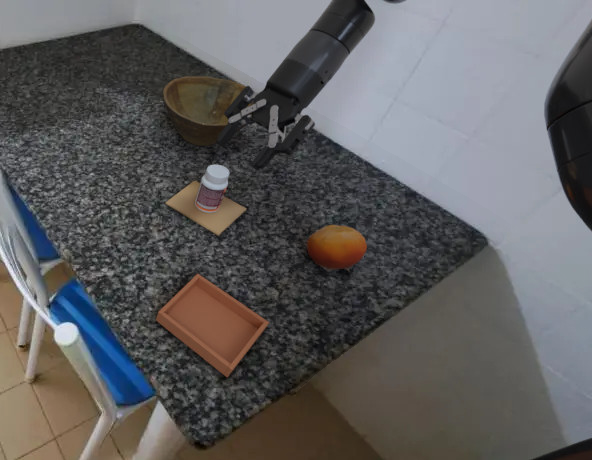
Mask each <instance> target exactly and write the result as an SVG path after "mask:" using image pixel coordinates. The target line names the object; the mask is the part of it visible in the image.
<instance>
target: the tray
mask: <svg viewBox="0 0 592 460" xmlns="http://www.w3.org/2000/svg"><path fill="white" fill-rule="evenodd" d="M155 321H156V323H158V324H159V325H161V326H162V327H163V328H164V329H165V330H167V331H168V332H170V333H171V334H172V335H173V336H175V337H176V338H177V339H178V340H179V341H181V343H183V344H184V345H186V346H187V347H188V348H189V349H191V350H192V351H193V352H194V353H196V354H197V355H198V356H200V357H201V358H202V359H203V360H205V361H206V362H207V363H208V364H209V365H211V366H212V367H213V368H214V369H216V371H218V372H220V373H221V374H222V375H223V376H224V377H226V378H229V376H230V375H231V374H232V372H233V371H234V370H235V368H236V367H237V366H238V364H239V363H240V362H241V361H242V360H243V358H244V357H245V356H246V354H247V353H248V352H249V350H250V349H251V348H252V346H253V345H254V344H255V343H256V342H257V340H258V339H259V337H260V336H261V335H262V334H263V333H264V331H265V330H266V328H267V327H268V325H269V324H270V322H269V321H268V320H267V319H265V318H263V317H262V316H261V315H259V314H258V313H256V312H255V311H254V310H252V309H250V308H249V307H247V306H246V305H245V304H243V303H241V302H240V301H239V300H237V299H236V298H234V297H233V296H231V295H230V294H229V293H227V292H226V291H225V290H223V289H221V288H220V287H219V286H217V285H216V284H214V283H213V282H211V281H209V280H208V279H206V277H203V275H201V274H199V273H196V275H194V277H193V278H191V279H190V280H189V281H188V282H187V283H186V284H185V285H184V286H183V287H182V288H181V289H180V290H179V291H178V292H177V293H176V294H175V295H174V296H173V297H172V298H171V299H170V300H168V302H167V303H166V304H165V305H164V306H162V307H161V308H160V310H158V312H157V316H156V318H155Z"/></svg>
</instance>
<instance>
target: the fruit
mask: <svg viewBox="0 0 592 460" xmlns="http://www.w3.org/2000/svg"><path fill="white" fill-rule="evenodd" d="M306 247H307V253H308V255H309V258H311V260H313V263H315V265H317V266H319V267H321V268H323V270H325V271H326V272H327V274H328V273H329V272H332V271H336V270H343V269H344V270H347V272H348V273H349V274H350V272H351V271H350V268H352V267H353V266H354V265H356V264H358V263H359V262H360V261H361V260H362V258H363V257H364V255H365V254H366V252H367V249H368V245H367V241H366V238H365V237H364V236H363V235H362V234H361V232H360V231H358V230H357V229H355V228H353V227H350V226H347V225H346V226H345V225H337V224H329V225H325V226H323V227H321V228H319V229H318V230H316V231H314V232H313V233H312V234H311V235H310V236H309V237H308V240H307V242H306Z"/></svg>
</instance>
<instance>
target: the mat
mask: <svg viewBox="0 0 592 460" xmlns="http://www.w3.org/2000/svg"><path fill="white" fill-rule="evenodd" d="M200 183H201V182H199V181H197V180H193V181H191V182H190V183H189V184H188V185H187V186H185V187H184V188H182V189H181V190H180V191H179V192H177V193H176V194H175V195H173V196H172V197H171V198H170V199H168V200H167V201H165V205H166V206H168V207H170V208H172V209H173V210H175V211H177V212H178V213H180V214H182V215H183V216H185V217H186V218H188V219H189V220H191V221H193V222H195V223H196V224H198V225H199V226H201V227H203V228H204V229H206V230H208V231H209V232H210V233H213V234H214V235H216V236H217V237H219V236H220V235H221V234H222V233H223V232H224V231H225V230H227V228H229V227H230V226H232V224H233V223H235V221H236V220H237V219H238V218H239V217H241V215H243V214H244V213H245V212H246V211H247V208H246V207H244V206H243V205H241V204H239V203H237V202H236V201H233V200H232V199H230V198H228V197H226V196H224V197H223V200H222V202H221V205H220V208H219V209H218V210H217V211H216V212H213V213H207V212H203V211H201V210H199V209H198V208H197V207H196V205H195V200H196V196H197V193H198V189H199V186H200Z"/></svg>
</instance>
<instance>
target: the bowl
mask: <svg viewBox="0 0 592 460" xmlns="http://www.w3.org/2000/svg"><path fill="white" fill-rule="evenodd" d="M245 87H246V85H244V84H241V83H239V82H237V81H234V80H231V79H225V78H217V77H213V76H206V75H205V76H204V75H201V76H191V75H188V76H181V77H177V78H174V79H172V80H171V81H169V82H168V83H167V84H166V85H165V86H164V87H163V90H162V99H163V104H164V107H165V110H166V112H167V115H168V117H169V119H170V121H171V123H172V125H173V126H174V128H175V129H176V131H177V132H178V133H179V135H180V137H181V138H182V139H183V140H184V141H186V142H187V143H189V144H192V145H195V146H199V147H203V146H204V147H208V146H212V145H214V144H216V143H217V138H218V135H219V134H220V133H221V131H222V130H223V129H224V128H225V126H226V125H227V124H228V119H227V117H226V116H225V115H224V112H225V111H226V109H227V108H228V107H229V106H230V105H231V103H232V102H233V101H234V100H235V99H236V97H237V96H238V95H239V94H240V93H241V92H242V90H243V89H244V88H245ZM253 102H254V101H253ZM251 105H253V103H252V104H251V103H250V104H249V105H248V106H247V107H249V106H251ZM247 107H246V108H247ZM235 110H236V109H235ZM250 115H252V114H250ZM246 126H247V125H245V126H242V127H240V128H238V129H237V130H238V131H240V130H242V129H243V128H245V127H246Z"/></svg>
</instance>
